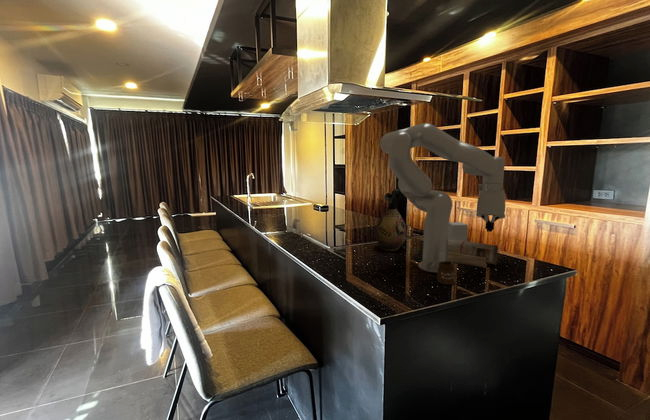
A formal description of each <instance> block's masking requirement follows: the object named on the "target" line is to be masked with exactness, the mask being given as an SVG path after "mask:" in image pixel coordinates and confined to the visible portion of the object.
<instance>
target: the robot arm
mask: <svg viewBox="0 0 650 420" xmlns="http://www.w3.org/2000/svg"><path fill="white" fill-rule="evenodd" d="M379 147H380V150H381V151H382V152H383V153H385V154H387V155H388V163H389V168H390V170H391V171H392V173H393V174H394V176H396V179H398V182H397V187H398V190H400V193H402V194H403V196H404V197H405V198H406V199H407V200H408V201H409V202H410V203H411V204H412V205H413V206H414V207H415V208H416V209H418V210H419V211H422V212H424V213H426V215H425V218H424V220H423V221H424V222H423V229H422V230H423V236H422V237H423V239H422V260H421V261H420V262H419V263H418V268H419V269H421V270H422V271H425V272H428V273H434V274H435V273H436V274H437V270H438V267H439V261H440V262H442V261H447V256H448V233H449V223H450V218H451V213H452V209H453V200H452V198H451V196H450V195H449V194H448V193H447V192H444V191H441V190H436V189H433V183H432V180H431V179H430V177H429V176H428V175H427V174H426V173H425V172H424V171H423V170H422V169H421V168H420V167H419V166H418V165H417V164H416V163H415V160H414V159H413V158H412V155H411V151H412V149H413V148H416V147H423V148H425V149H427V150H428V151H430V152H432V153H433V154H434V155H437V156H439V157H440V158H442V159H444V160H447V161H449V162H456V163H461V164H462V165H461V168H462V171H463V172H464V173H465V174H467V175H470V176H482V183H479V184H477V185H478V188H480V190H479V193H478V197H477V202H476V215H475V216H476V217H479V218H481V219H483V220H484V222H485V225H484V226H485V227H484V228H485V230H486V233H487V232H488V233H491V232H493V230H494V229H495V222H496V221H498V220H501V219H505V218H506V194H505V191H504V190H503V189H504V176H505V175H504V174H505V164H506V160H505V158H504V157H503V156H493V155H491V154H490V153H488V152H487V151H485V150H483V149H482V148H480V147H477V146H474V145H472V144H470V143H467V142H465V141H462V140H458V139H457V138H455V137H453V136H451V135H450V134H449V133H446V131H444V130H442V129H441V128H439V127H437V126H435V125H434V124H432V123H429V122H425V123H424V122H423V123H420V124H416V125H412V126H409V127H406V128H403V129H398V130H394V131H391V132H387V133H386V134H383V136H382V137H381V138H380V140H379ZM490 216H491V220H490ZM441 252H442V253H441ZM440 253H441V254H440ZM442 254H443V256H442ZM444 255H445V256H444ZM438 257H439V258H438Z"/></svg>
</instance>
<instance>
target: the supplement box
mask: <svg viewBox="0 0 650 420" xmlns="http://www.w3.org/2000/svg"><path fill="white" fill-rule="evenodd" d="M468 226H469V225H468V224H466V223H465V222H462V221H461V222H460V221H458V222H453V221H452V222H449V233H448V241H449V240H459V241H468V229H469V227H468Z"/></svg>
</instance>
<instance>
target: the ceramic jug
mask: <svg viewBox="0 0 650 420" xmlns="http://www.w3.org/2000/svg"><path fill="white" fill-rule="evenodd" d="M400 197H401V191H400V189H399V188H396V189H393V190H392V191H391V193H389V192H387V193H385V194H384V200H385V201H386V202H388V203H389V206H388V207H387V209H386V210H385V211H384V213H383V214H382V215H381V216H380V218H379V220H378V222H377V224H376V227H375V230H374V231H375V232H374V236H375V240H376V242H377V244H378V245H379V249H380V250H382V251H385V252H396V251H399V250H398V249H400V247H401V246H402V245H403V244H404V243H405V241H406V240H407V239H406V238H407V236H408V235H407V226H406V223H405V220H404V219H403V217H402V215H401V214H400V212H399V211H398V207H399V202H400V199H401V198H400Z"/></svg>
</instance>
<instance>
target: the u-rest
mask: <svg viewBox="0 0 650 420" xmlns="http://www.w3.org/2000/svg"><path fill="white" fill-rule="evenodd" d="M452 255H453V253H451V252H448V256H447V262H452ZM452 263H453V264H459V265H465V266H470V267H471V266H472V267H477V268H482V269H483V268H487V266H488V264H489V263H486V257H479V256H472V255H465V254H458V253H456V255H455V258H454V259H453V262H452Z"/></svg>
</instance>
